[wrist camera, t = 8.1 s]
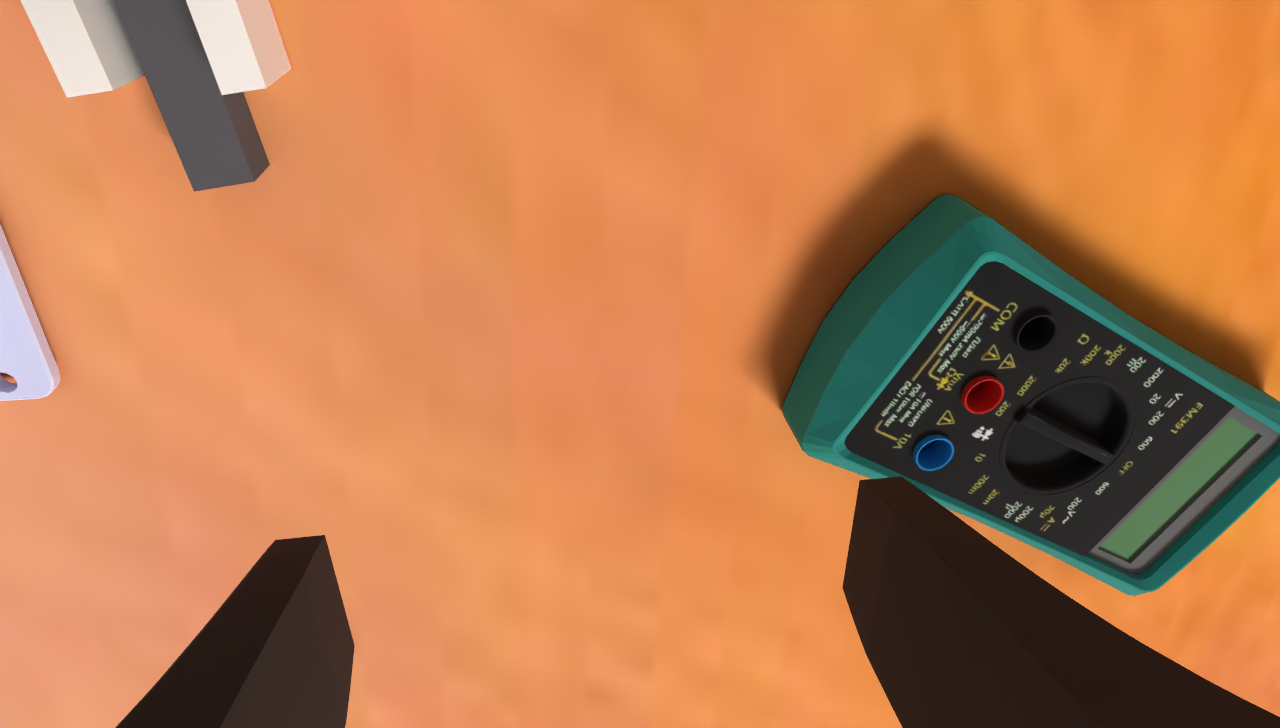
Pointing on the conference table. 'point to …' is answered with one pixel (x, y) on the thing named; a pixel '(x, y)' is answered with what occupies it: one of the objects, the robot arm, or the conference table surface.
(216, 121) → the routed cable
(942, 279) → the digital multimeter
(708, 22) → the conference table surface
